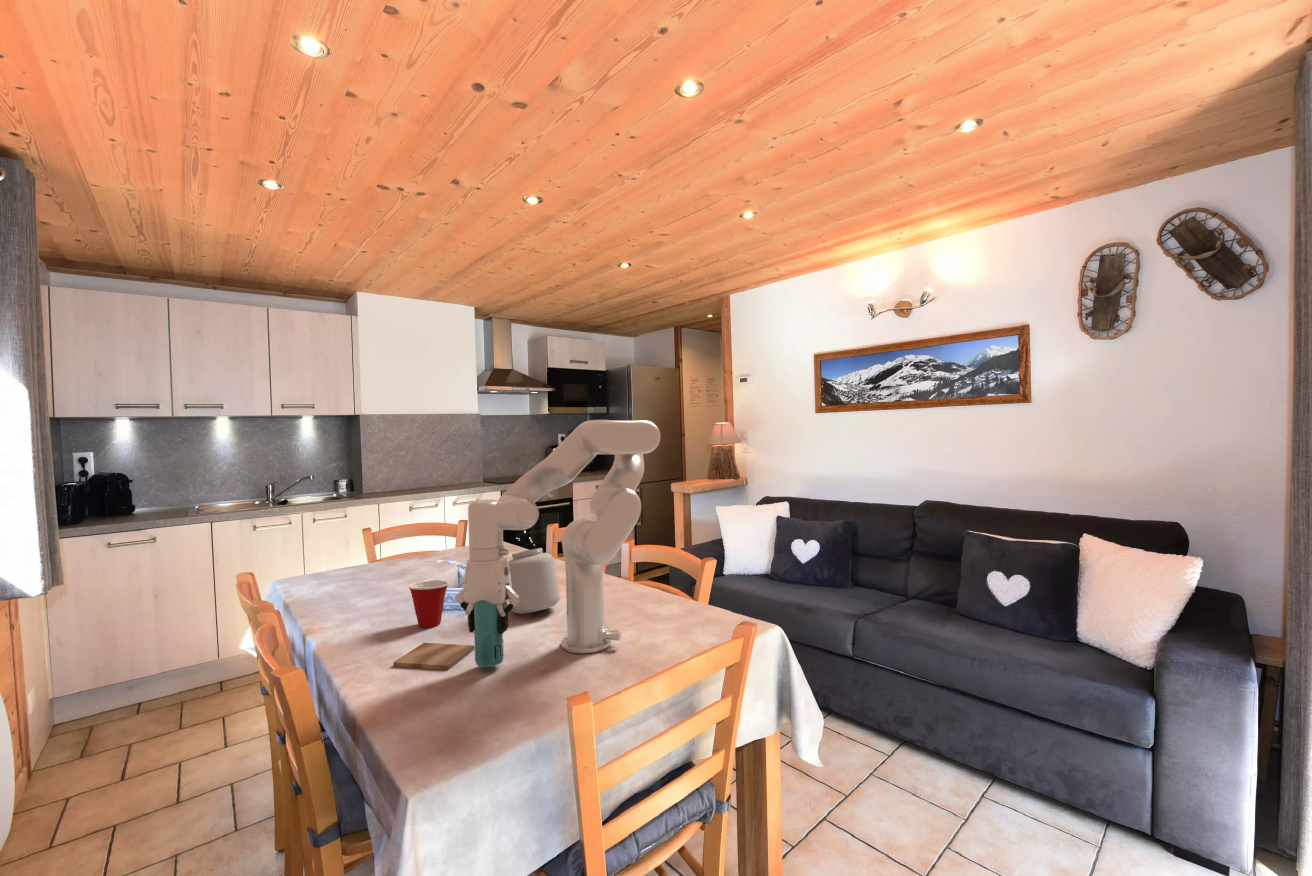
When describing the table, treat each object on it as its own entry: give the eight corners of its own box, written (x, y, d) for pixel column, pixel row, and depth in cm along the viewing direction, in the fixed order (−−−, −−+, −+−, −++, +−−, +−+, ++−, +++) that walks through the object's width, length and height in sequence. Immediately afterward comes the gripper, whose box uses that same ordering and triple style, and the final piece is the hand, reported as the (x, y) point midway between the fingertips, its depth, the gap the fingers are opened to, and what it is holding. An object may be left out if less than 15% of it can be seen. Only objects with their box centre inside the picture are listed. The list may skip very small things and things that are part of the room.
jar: (491, 612, 169) (488, 529, 168) (528, 599, 181) (526, 522, 180) (532, 624, 157) (530, 535, 157) (570, 609, 169) (568, 527, 169)
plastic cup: (456, 618, 164) (455, 577, 163) (439, 631, 153) (437, 588, 153) (421, 617, 165) (420, 577, 164) (401, 631, 154) (400, 587, 154)
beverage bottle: (496, 675, 125) (493, 586, 125) (468, 673, 126) (466, 585, 126) (509, 662, 131) (507, 578, 131) (483, 661, 133) (481, 577, 132)
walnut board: (474, 649, 140) (474, 645, 140) (448, 670, 128) (447, 665, 128) (424, 646, 143) (423, 642, 143) (393, 666, 131) (393, 662, 131)
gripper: (528, 551, 130) (530, 627, 131) (460, 549, 134) (462, 623, 134) (514, 558, 123) (516, 639, 123) (442, 556, 126) (445, 635, 127)
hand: (488, 630), depth 129 cm, fingers closed on beverage bottle, 6 cm apart
